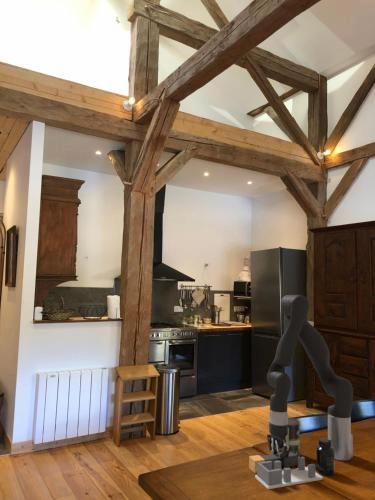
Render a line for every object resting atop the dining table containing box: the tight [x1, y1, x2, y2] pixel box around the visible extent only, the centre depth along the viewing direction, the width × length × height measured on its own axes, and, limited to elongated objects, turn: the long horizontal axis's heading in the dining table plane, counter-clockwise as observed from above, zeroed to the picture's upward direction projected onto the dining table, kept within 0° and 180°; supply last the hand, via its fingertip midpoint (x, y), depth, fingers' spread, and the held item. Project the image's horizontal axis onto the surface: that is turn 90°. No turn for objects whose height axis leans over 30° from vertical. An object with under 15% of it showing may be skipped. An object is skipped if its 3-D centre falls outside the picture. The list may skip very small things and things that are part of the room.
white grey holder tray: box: [254, 456, 324, 490], centre depth 146 cm, size 24×9×6 cm, turn 111°
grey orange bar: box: [248, 452, 298, 474], centre depth 155 cm, size 20×4×4 cm, turn 111°
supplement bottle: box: [315, 437, 336, 477], centre depth 152 cm, size 7×7×12 cm
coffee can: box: [277, 417, 301, 457], centre depth 167 cm, size 10×10×14 cm
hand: (278, 465), depth 155 cm, fingers closed on grey orange bar, 3 cm apart
